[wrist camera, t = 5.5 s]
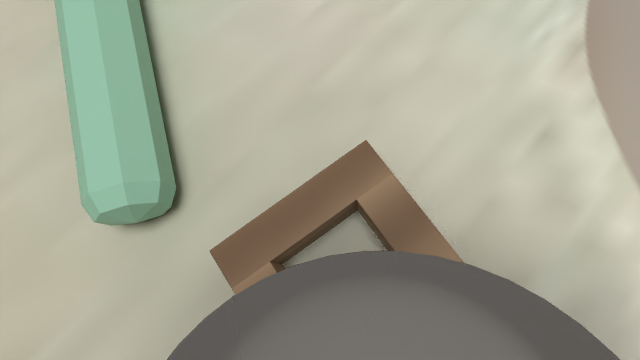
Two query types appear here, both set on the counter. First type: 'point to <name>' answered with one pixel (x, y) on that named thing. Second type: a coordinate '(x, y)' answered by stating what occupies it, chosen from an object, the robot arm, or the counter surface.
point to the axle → (388, 315)
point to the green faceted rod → (114, 111)
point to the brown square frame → (330, 219)
